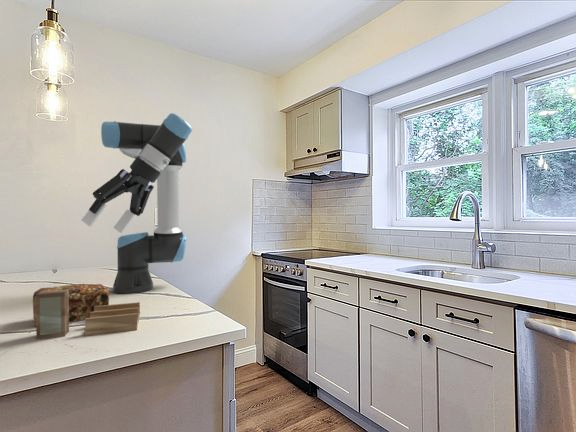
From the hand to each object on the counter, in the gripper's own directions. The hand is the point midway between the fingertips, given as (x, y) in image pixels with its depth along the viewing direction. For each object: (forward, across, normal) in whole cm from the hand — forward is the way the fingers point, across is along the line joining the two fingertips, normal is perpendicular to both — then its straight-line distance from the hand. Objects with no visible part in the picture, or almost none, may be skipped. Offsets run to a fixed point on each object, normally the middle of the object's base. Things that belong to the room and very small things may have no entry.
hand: (102, 227), depth 93 cm
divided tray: (+21, +7, -16) cm, 27 cm away
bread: (+30, +12, -2) cm, 32 cm away
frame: (+28, -2, -8) cm, 29 cm away
